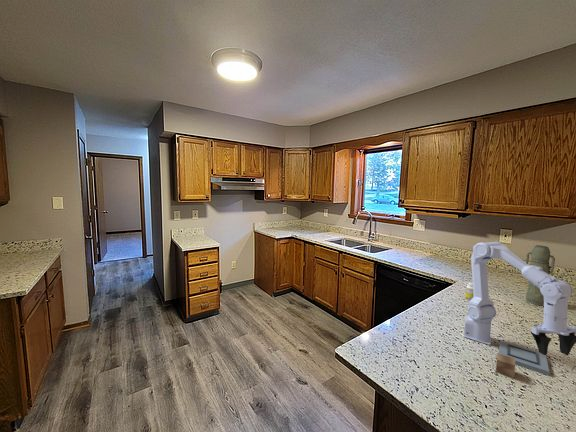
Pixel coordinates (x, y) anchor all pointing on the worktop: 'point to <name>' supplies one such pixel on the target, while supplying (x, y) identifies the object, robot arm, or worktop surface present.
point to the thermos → (542, 260)
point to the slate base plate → (525, 357)
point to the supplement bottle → (469, 291)
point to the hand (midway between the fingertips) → (553, 353)
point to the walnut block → (505, 365)
